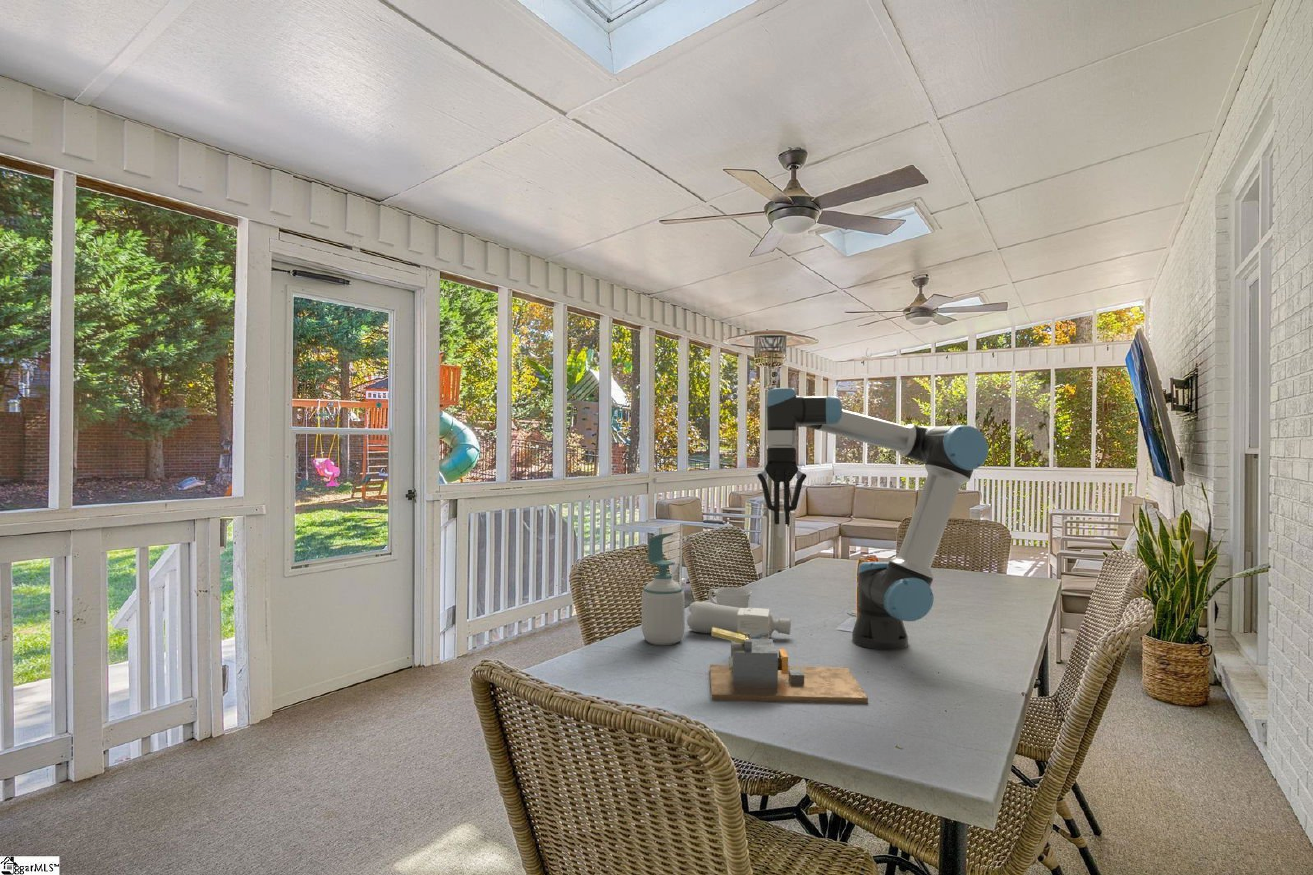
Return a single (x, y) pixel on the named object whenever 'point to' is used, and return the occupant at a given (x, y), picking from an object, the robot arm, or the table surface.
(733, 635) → the tab
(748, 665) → the block
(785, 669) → the lynch pin
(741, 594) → the teacup
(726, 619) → the bottle
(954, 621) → the table surface
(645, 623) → the soap bottle
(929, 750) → the table surface
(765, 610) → the ink box
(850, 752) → the table surface
